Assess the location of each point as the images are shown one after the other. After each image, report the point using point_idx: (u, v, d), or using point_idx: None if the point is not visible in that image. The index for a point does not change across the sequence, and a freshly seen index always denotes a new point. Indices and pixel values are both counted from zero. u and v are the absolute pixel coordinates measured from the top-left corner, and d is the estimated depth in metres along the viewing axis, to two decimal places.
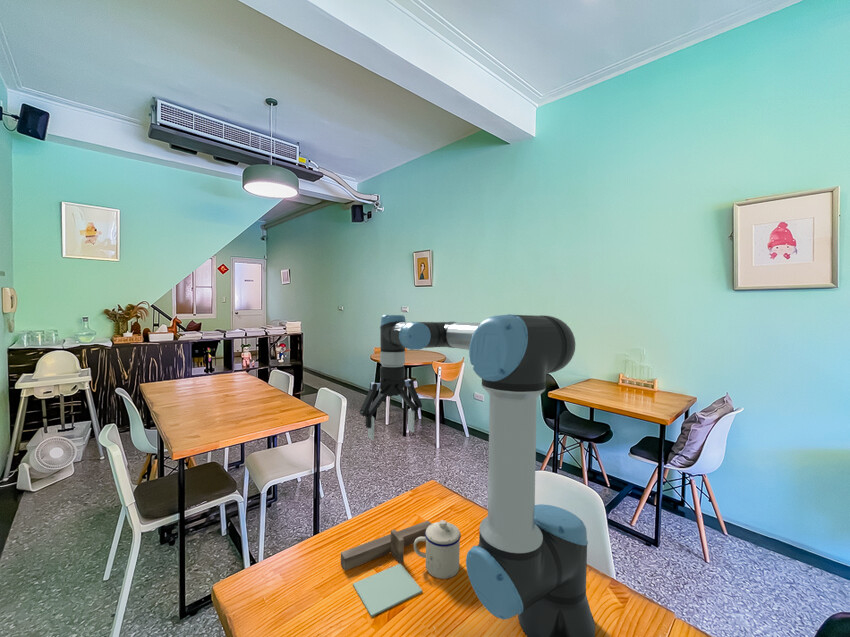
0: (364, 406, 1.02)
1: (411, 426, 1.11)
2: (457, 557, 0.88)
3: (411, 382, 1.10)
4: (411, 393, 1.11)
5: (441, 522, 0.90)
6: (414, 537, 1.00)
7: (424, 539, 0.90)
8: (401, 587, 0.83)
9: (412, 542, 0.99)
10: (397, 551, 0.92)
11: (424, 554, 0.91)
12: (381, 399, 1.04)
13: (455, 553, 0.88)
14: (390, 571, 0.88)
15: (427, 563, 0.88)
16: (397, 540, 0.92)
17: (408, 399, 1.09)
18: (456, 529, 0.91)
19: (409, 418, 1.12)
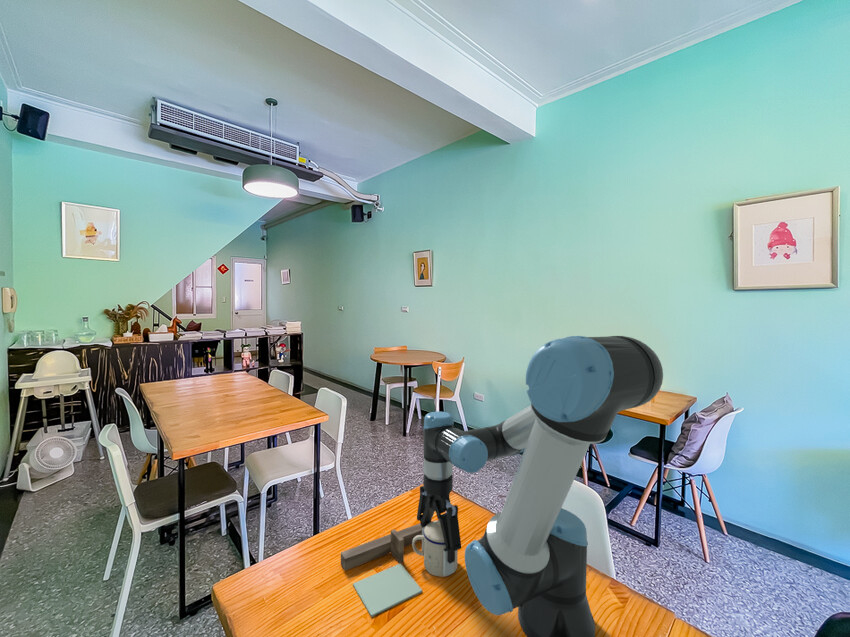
0: None
1: None
2: (455, 555, 0.89)
3: (448, 511, 0.84)
4: None
5: (439, 520, 0.91)
6: None
7: (422, 537, 0.91)
8: (401, 587, 0.83)
9: None
10: (397, 551, 0.92)
11: (422, 552, 0.92)
12: (426, 509, 0.92)
13: None
14: (390, 571, 0.88)
15: (425, 561, 0.89)
16: (397, 540, 0.92)
17: (442, 528, 0.86)
18: None
19: None
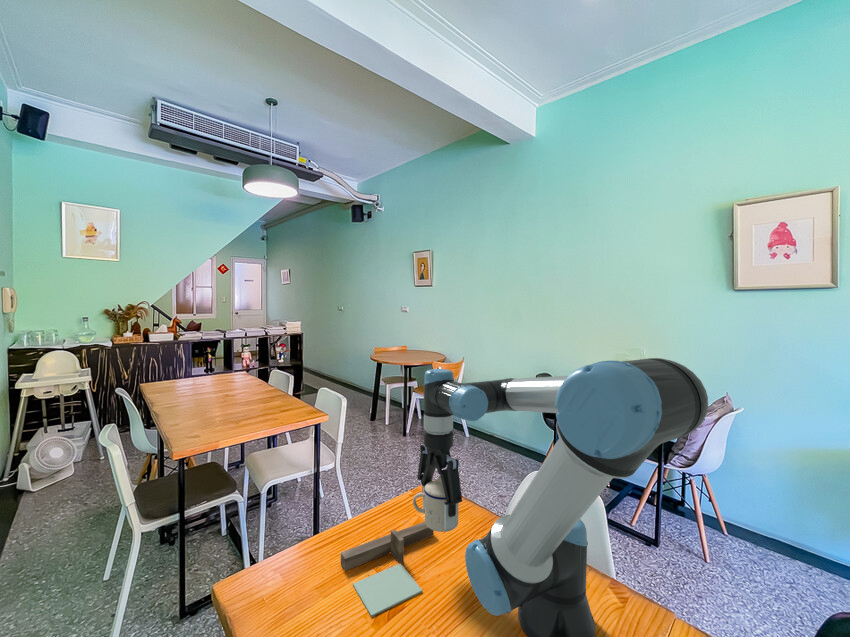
0: None
1: None
2: (456, 511, 0.88)
3: (448, 464, 0.84)
4: None
5: (440, 477, 0.90)
6: (414, 537, 1.00)
7: (423, 495, 0.91)
8: (401, 587, 0.83)
9: (412, 542, 0.99)
10: (397, 551, 0.92)
11: (423, 510, 0.92)
12: (427, 467, 0.92)
13: None
14: (390, 571, 0.88)
15: (426, 518, 0.89)
16: (397, 540, 0.92)
17: (443, 482, 0.86)
18: None
19: None
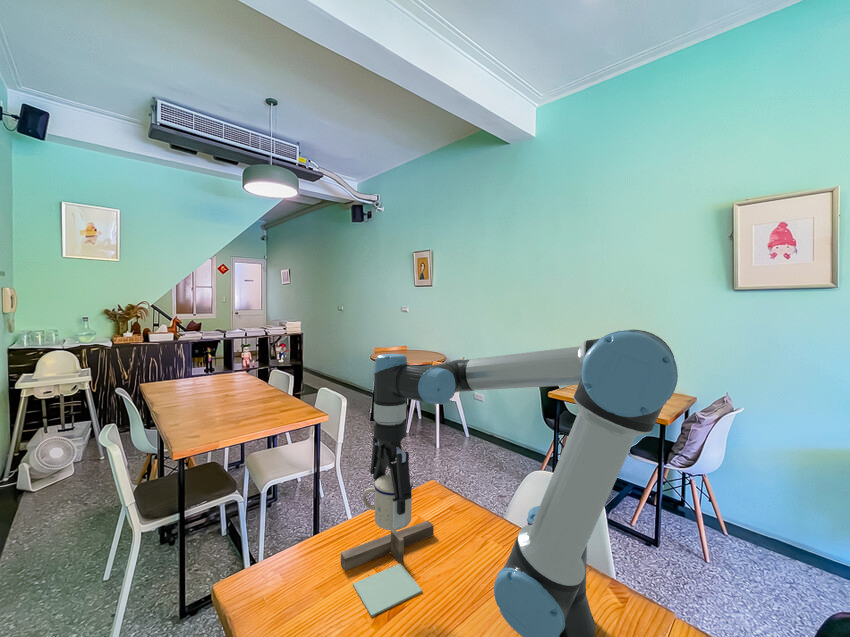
0: None
1: None
2: (408, 508, 0.81)
3: (397, 457, 0.77)
4: None
5: None
6: (414, 537, 1.00)
7: (373, 490, 0.83)
8: (401, 587, 0.83)
9: (412, 542, 0.99)
10: (397, 551, 0.92)
11: (374, 506, 0.84)
12: (378, 460, 0.85)
13: (406, 503, 0.81)
14: (390, 571, 0.88)
15: (375, 515, 0.82)
16: (397, 540, 0.92)
17: (392, 477, 0.79)
18: None
19: None
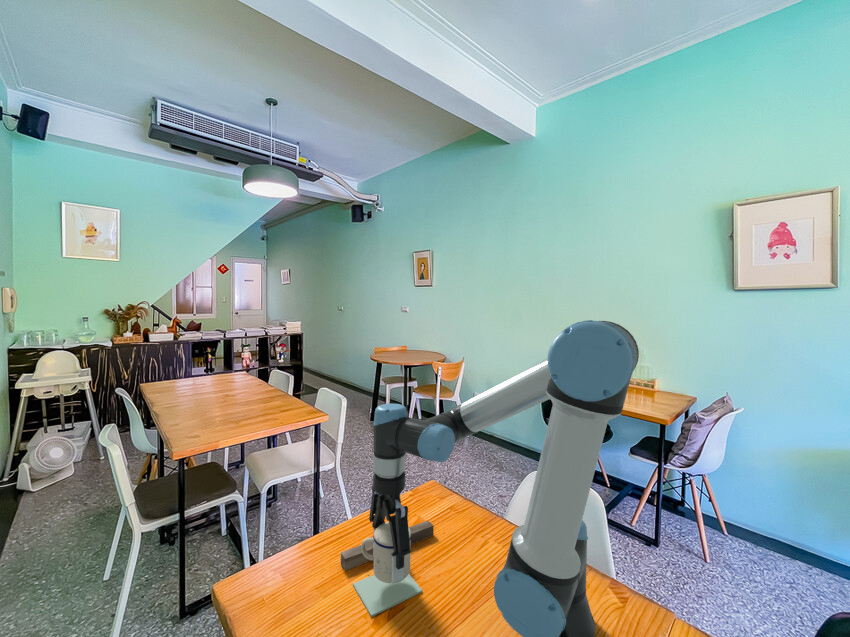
0: None
1: None
2: (406, 560, 0.81)
3: None
4: None
5: None
6: (414, 537, 1.00)
7: (372, 540, 0.83)
8: (401, 587, 0.83)
9: (412, 542, 0.99)
10: None
11: (373, 556, 0.84)
12: (377, 510, 0.85)
13: (405, 555, 0.81)
14: None
15: (374, 566, 0.82)
16: None
17: (391, 531, 0.79)
18: None
19: None
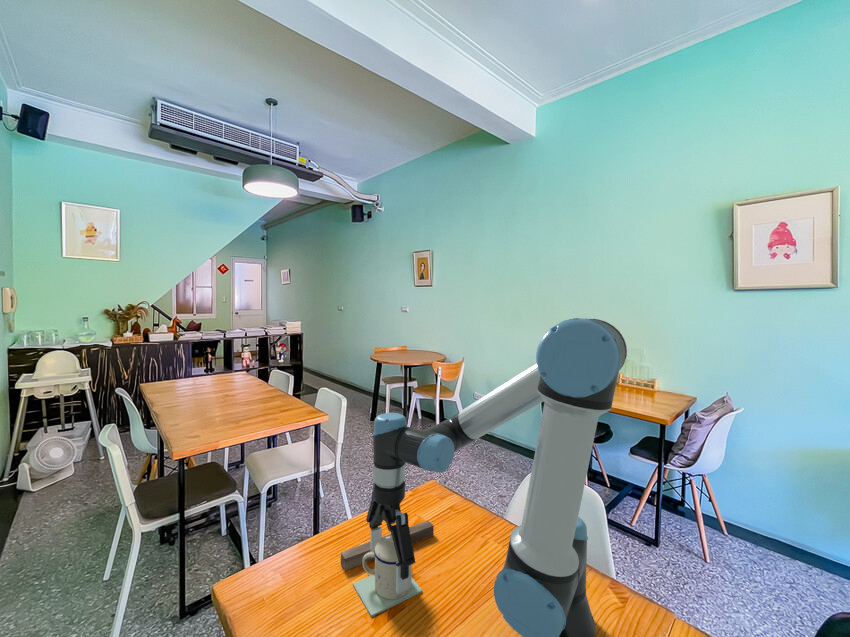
0: None
1: None
2: None
3: (396, 519, 0.77)
4: None
5: (391, 537, 0.83)
6: (414, 537, 1.00)
7: (373, 555, 0.83)
8: None
9: (412, 542, 0.99)
10: None
11: (374, 571, 0.84)
12: (376, 515, 0.85)
13: None
14: None
15: (375, 581, 0.81)
16: None
17: (394, 540, 0.78)
18: None
19: None
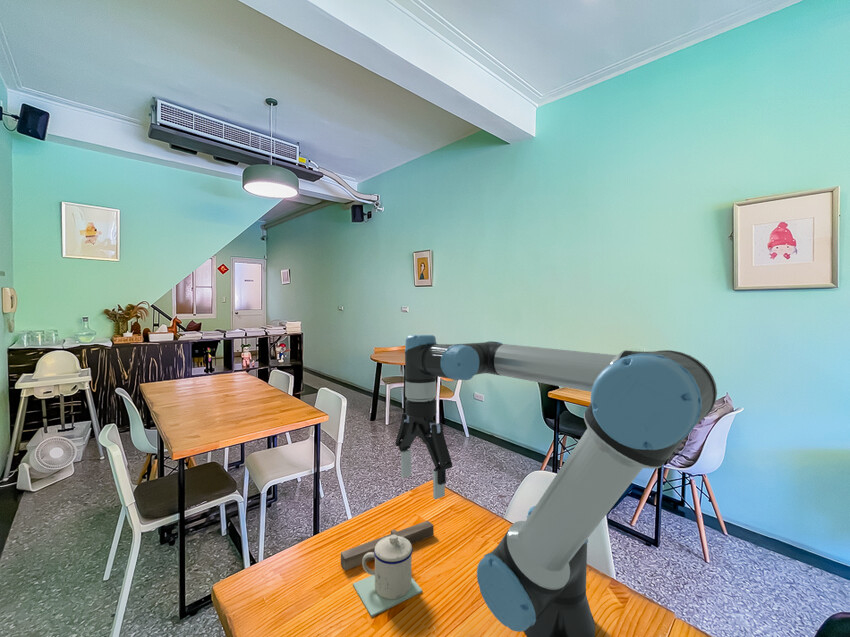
0: None
1: None
2: (407, 575, 0.81)
3: (432, 428, 0.80)
4: None
5: (391, 537, 0.83)
6: (414, 537, 1.00)
7: (373, 555, 0.83)
8: None
9: (412, 542, 0.99)
10: None
11: (374, 571, 0.84)
12: (407, 435, 0.88)
13: (405, 570, 0.81)
14: None
15: (375, 581, 0.82)
16: None
17: (430, 450, 0.81)
18: (408, 544, 0.84)
19: None
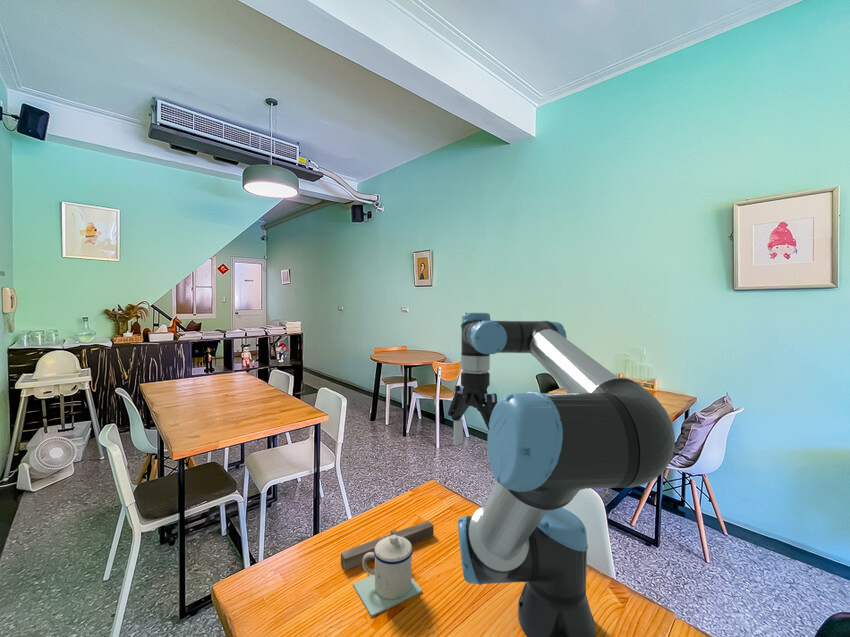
0: None
1: None
2: (407, 575, 0.81)
3: (487, 397, 0.87)
4: None
5: (391, 537, 0.83)
6: (414, 537, 1.00)
7: (373, 555, 0.83)
8: None
9: (412, 542, 0.99)
10: None
11: (374, 571, 0.84)
12: (461, 405, 0.96)
13: (405, 570, 0.81)
14: None
15: (375, 581, 0.82)
16: None
17: (484, 417, 0.88)
18: (408, 544, 0.84)
19: None
